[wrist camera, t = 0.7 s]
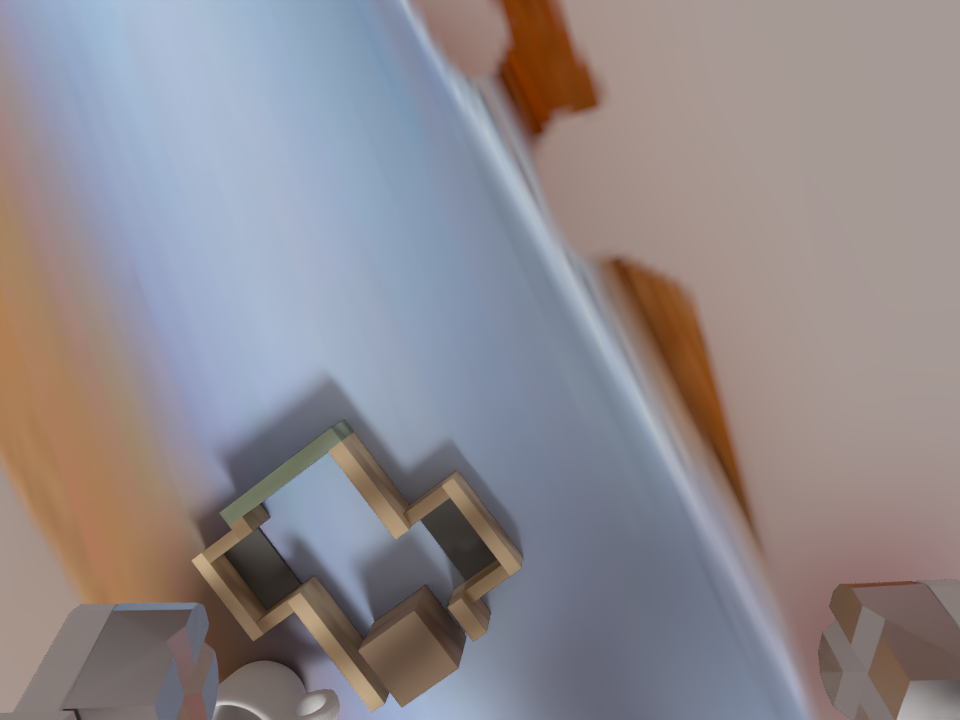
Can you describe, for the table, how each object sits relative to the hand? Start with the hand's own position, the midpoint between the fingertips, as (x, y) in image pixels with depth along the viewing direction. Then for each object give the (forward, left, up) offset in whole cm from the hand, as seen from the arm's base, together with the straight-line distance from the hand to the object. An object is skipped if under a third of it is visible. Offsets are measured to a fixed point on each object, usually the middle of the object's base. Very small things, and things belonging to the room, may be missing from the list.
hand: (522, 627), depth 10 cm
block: (-11, +21, -47) cm, 53 cm away
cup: (-9, +32, -48) cm, 58 cm away
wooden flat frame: (-4, +20, -47) cm, 52 cm away
